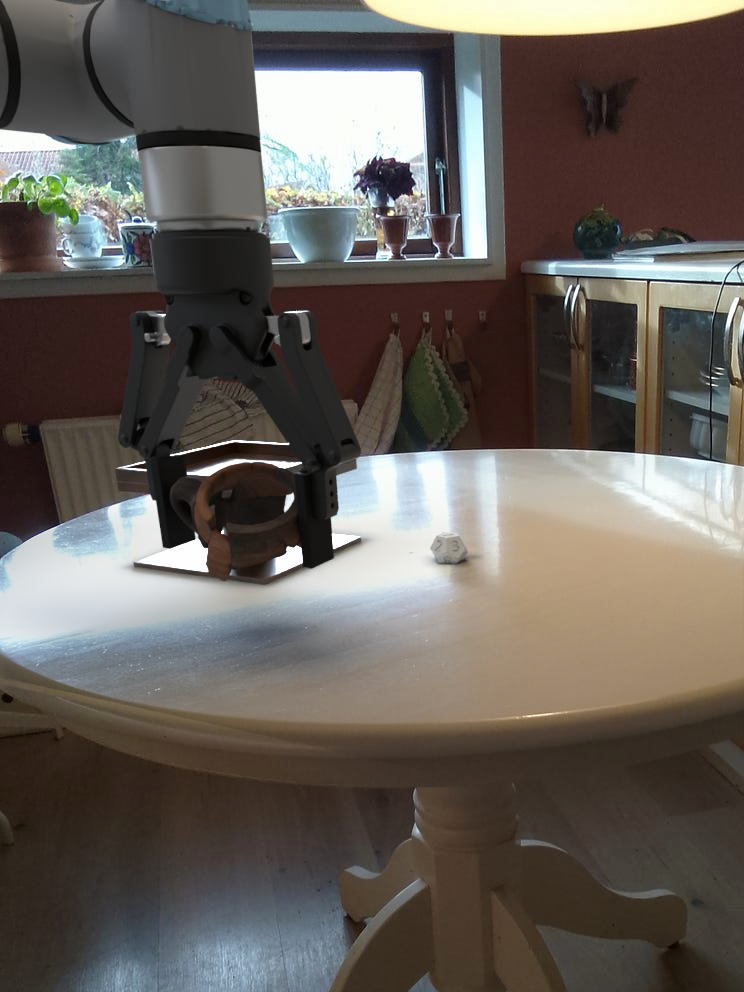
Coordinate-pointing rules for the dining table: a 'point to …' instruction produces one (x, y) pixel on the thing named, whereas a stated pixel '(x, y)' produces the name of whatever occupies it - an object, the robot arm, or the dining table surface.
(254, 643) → the dining table surface
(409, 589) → the dining table surface
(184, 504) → the pottery mug
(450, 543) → the game die
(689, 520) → the dining table surface
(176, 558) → the cup holder
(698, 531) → the dining table surface
